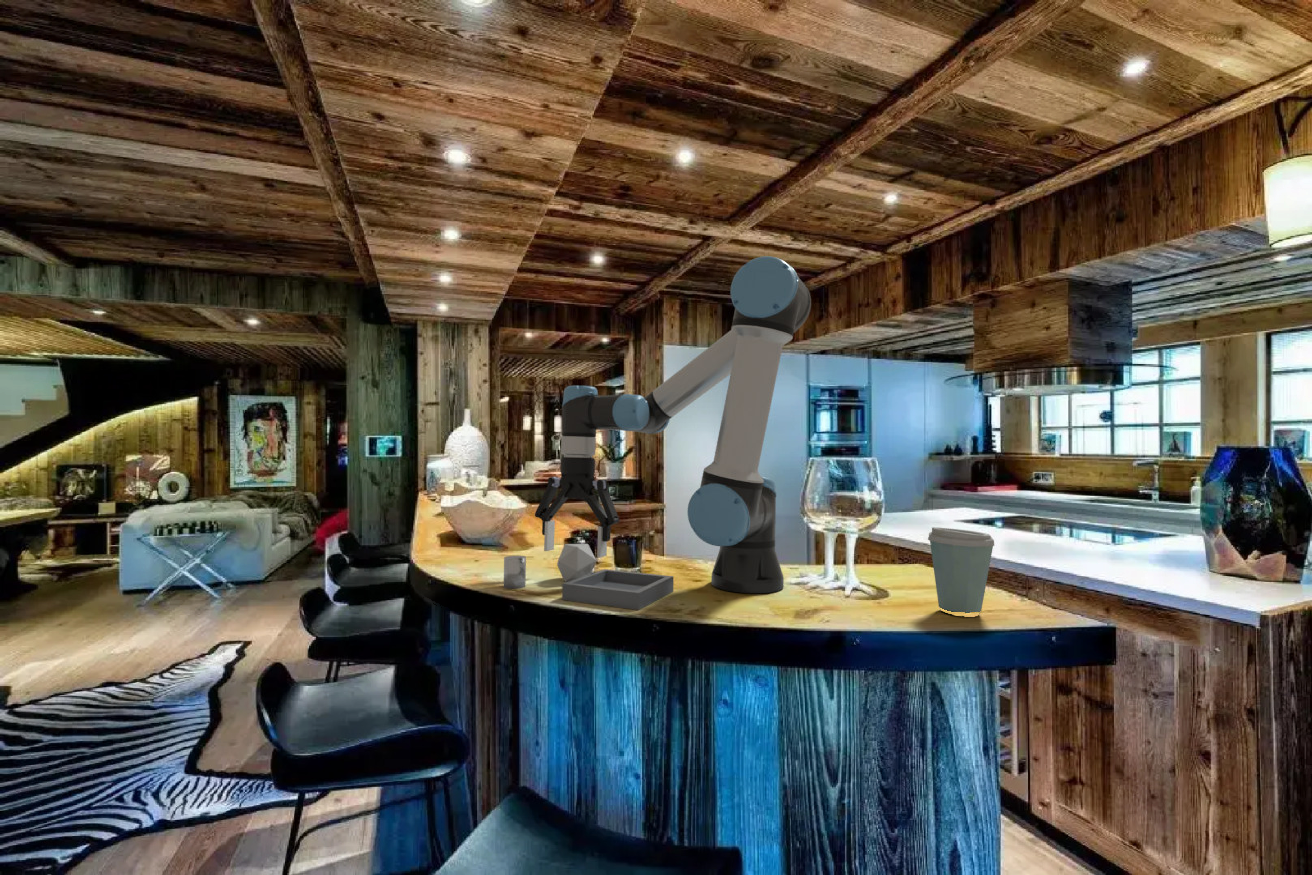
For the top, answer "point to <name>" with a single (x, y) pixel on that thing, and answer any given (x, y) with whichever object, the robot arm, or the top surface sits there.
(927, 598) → the top surface
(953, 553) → the disposable coffee cup
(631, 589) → the slate tray
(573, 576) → the die
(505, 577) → the steel jigger
